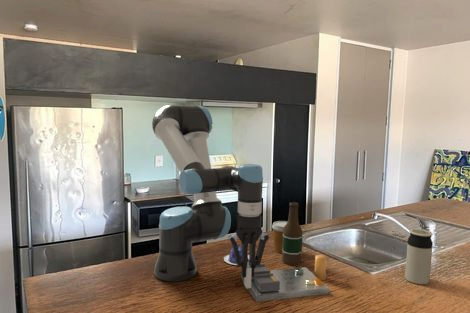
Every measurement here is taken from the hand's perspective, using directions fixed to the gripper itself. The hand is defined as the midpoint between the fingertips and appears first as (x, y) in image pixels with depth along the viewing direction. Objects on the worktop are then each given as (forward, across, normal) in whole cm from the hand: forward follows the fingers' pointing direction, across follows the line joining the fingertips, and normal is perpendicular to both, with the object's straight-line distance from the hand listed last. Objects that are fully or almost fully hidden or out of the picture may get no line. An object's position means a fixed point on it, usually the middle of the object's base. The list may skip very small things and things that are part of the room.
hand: (247, 286), depth 118 cm
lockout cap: (+3, +30, +8) cm, 31 cm away
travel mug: (+4, +64, -1) cm, 64 cm away
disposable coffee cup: (+3, +26, +36) cm, 44 cm away
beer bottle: (+3, +25, +24) cm, 35 cm away
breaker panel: (+3, +14, +4) cm, 15 cm away
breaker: (+1, +6, +9) cm, 11 cm away
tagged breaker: (+1, +7, 0) cm, 7 cm away
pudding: (+4, +5, +29) cm, 30 cm away
